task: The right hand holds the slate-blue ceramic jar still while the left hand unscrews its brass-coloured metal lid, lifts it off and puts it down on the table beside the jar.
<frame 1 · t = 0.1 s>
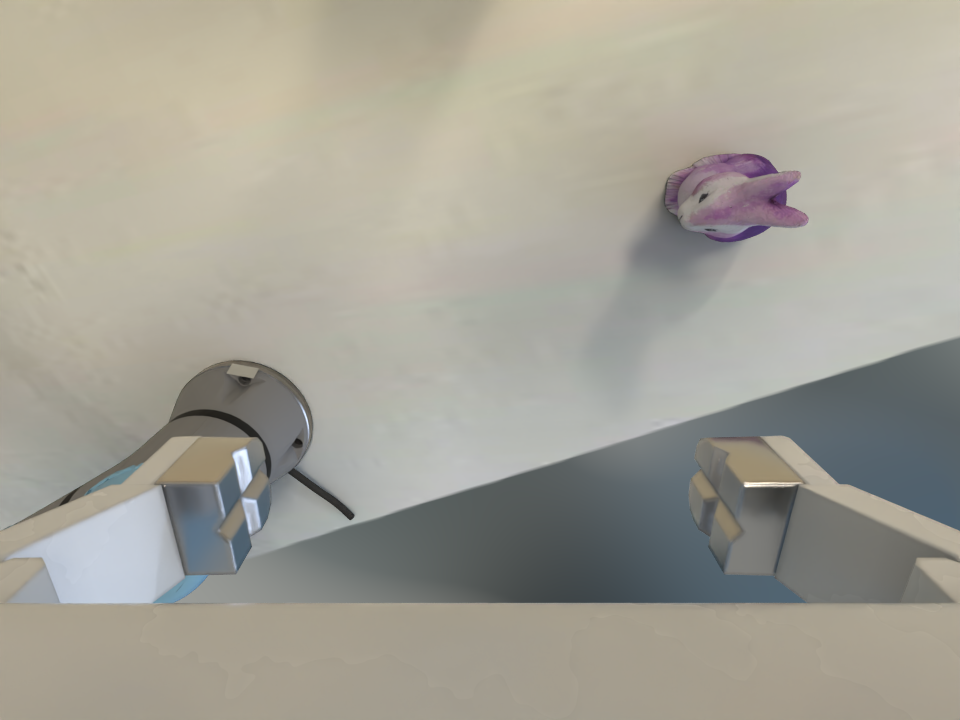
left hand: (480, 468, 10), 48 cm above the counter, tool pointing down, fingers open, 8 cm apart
figurine: (706, 198, 54), on the counter
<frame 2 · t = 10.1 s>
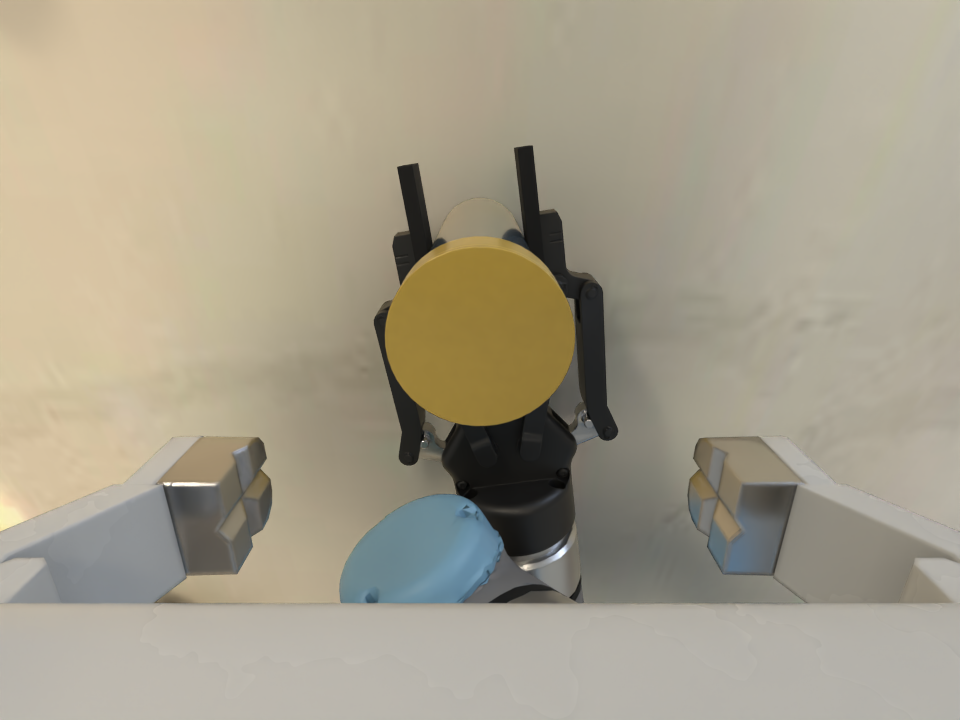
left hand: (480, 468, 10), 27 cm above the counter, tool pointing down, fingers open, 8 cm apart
right hand: (465, 156, 28), fingers closed on jar, 5 cm apart
lid: (480, 338, 17), point 20 cm above the counter, screwed on, not yet turned
jar: (480, 238, 35), on the counter, touching right hand
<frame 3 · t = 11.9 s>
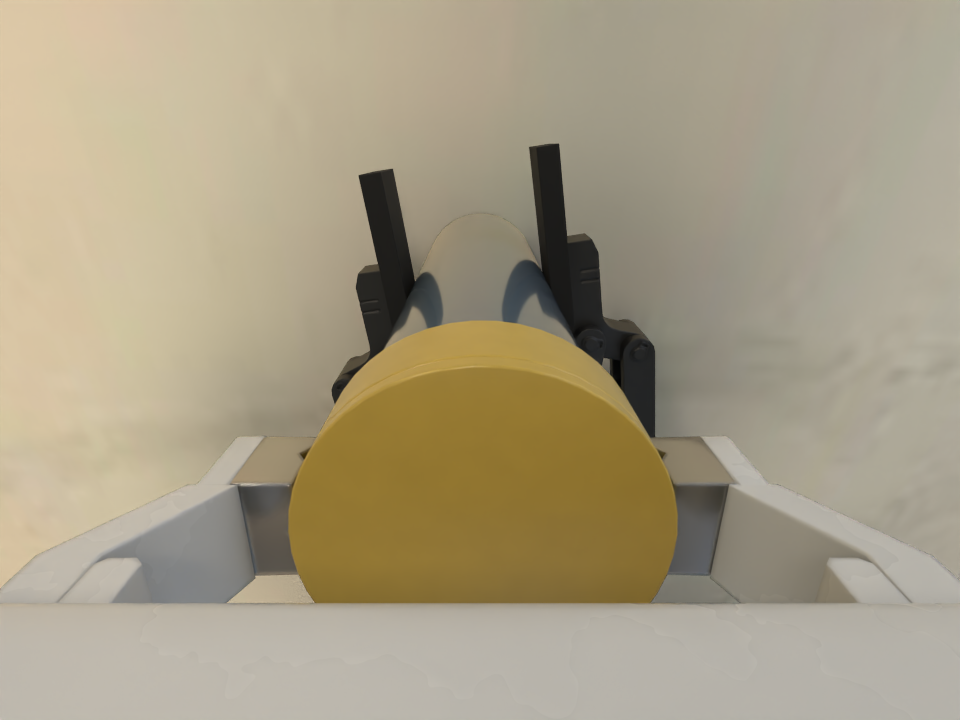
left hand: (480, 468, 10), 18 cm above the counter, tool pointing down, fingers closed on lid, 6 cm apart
lid: (482, 529, 9), point 20 cm above the counter, screwed on, not yet turned, touching left hand
jar: (480, 266, 27), on the counter, touching right hand
when the left hand's fingers open (18 cm above the counter, at t = 13.2 s): lid stays where it is, point 20 cm above the counter.
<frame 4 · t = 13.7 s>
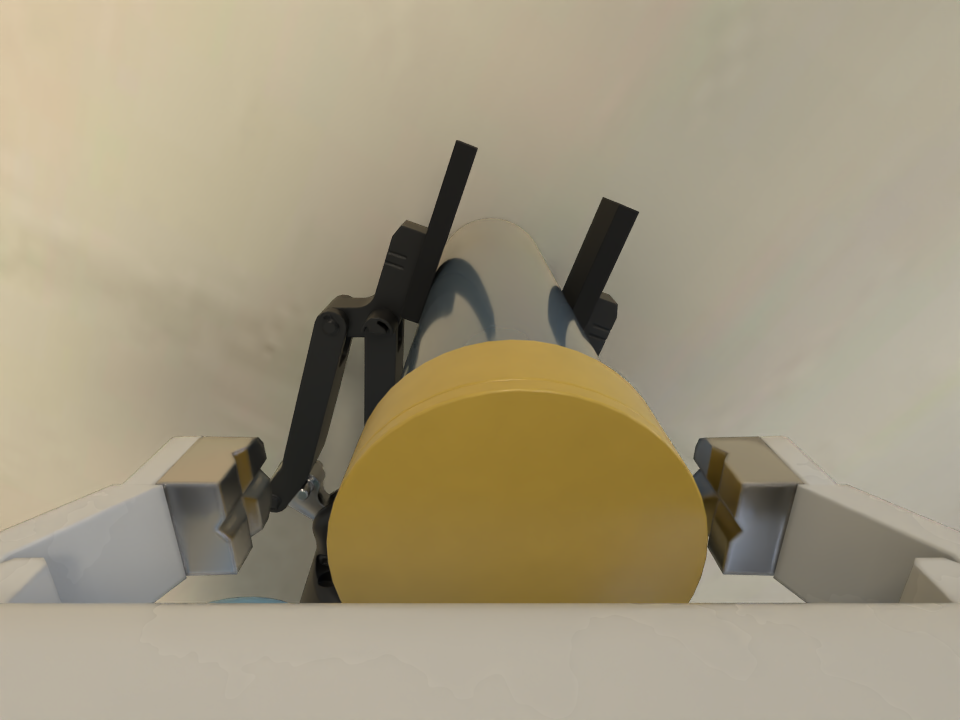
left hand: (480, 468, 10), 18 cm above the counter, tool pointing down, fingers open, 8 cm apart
lid: (515, 545, 9), point 20 cm above the counter, turned 71° so far, risen 0.2 cm, still on its thread
jar: (490, 270, 27), on the counter, touching right hand
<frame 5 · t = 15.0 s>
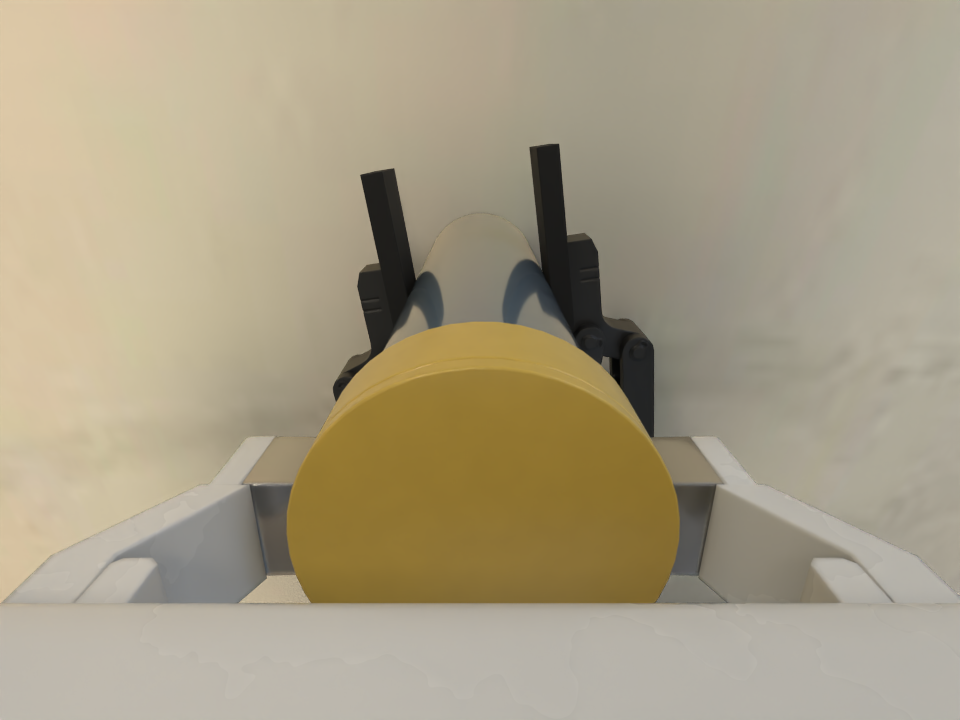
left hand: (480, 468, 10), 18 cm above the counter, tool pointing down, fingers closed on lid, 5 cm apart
lid: (483, 532, 8), point 20 cm above the counter, turned 74° so far, risen 0.2 cm, still on its thread, touching left hand
jar: (481, 266, 27), on the counter, touching right hand
when the left hand's fingers open (2 cm above the counter, at t = 22.9 s): lid drops 2 cm, point 2 cm above the counter.
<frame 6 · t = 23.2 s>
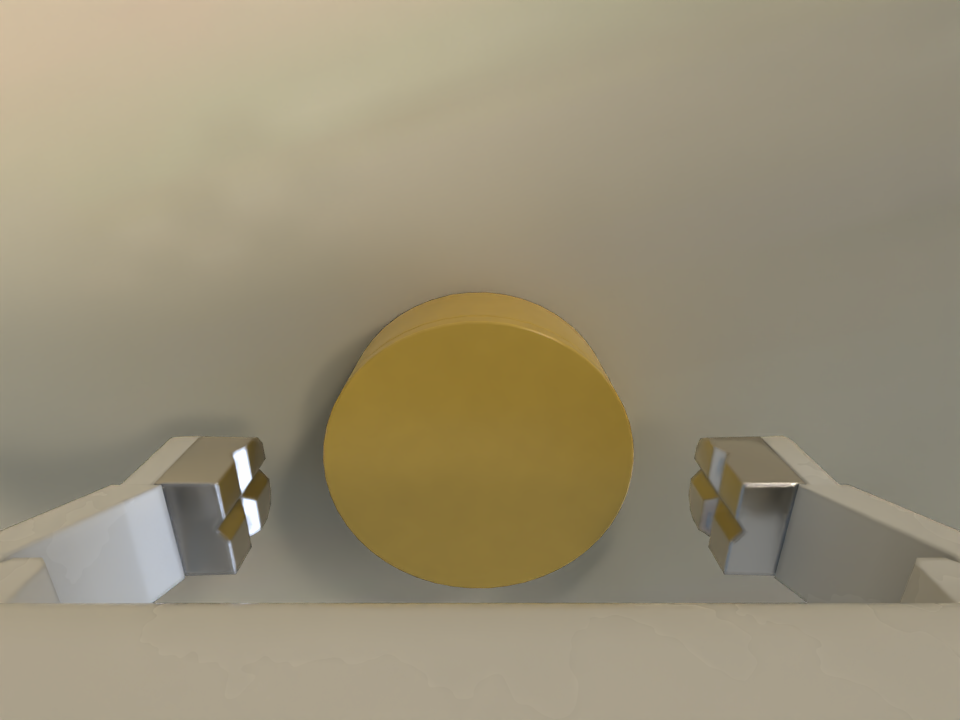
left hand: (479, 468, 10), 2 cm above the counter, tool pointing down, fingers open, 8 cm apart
lid: (478, 459, 11), point 2 cm above the counter, off its thread
when the right hand's fingers open (6 cm above the counter, at t = 23.8 s): jar stays where it is, on the counter.
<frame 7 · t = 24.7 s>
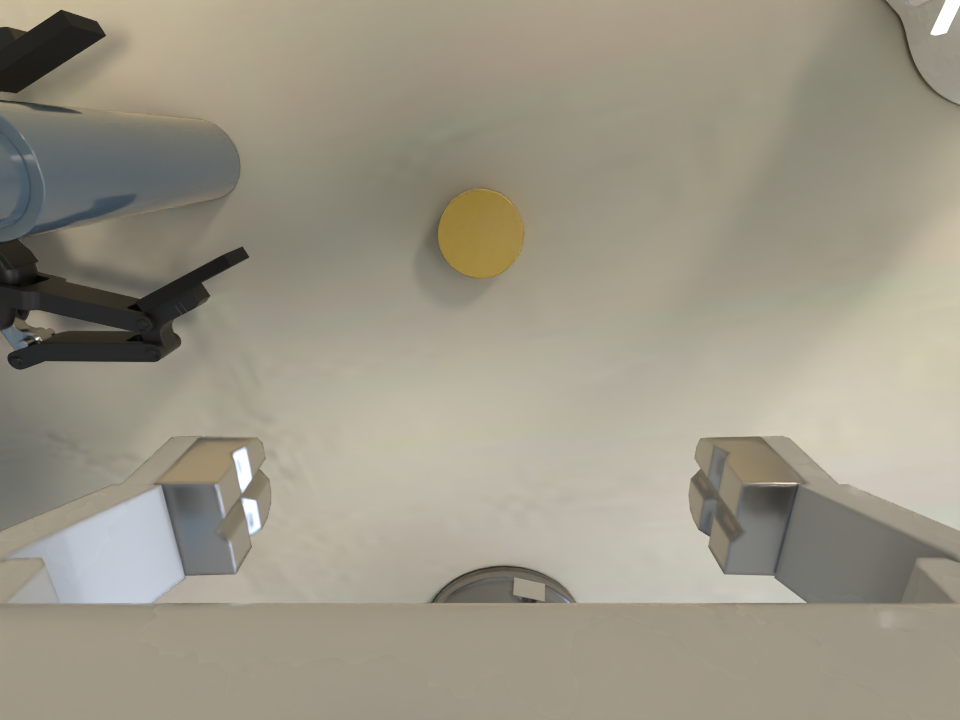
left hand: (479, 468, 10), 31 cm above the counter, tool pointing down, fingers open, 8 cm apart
right hand: (167, 147, 30), fingers open, 13 cm apart
lid: (480, 234, 37), point 2 cm above the counter, off its thread
jar: (202, 160, 37), on the counter
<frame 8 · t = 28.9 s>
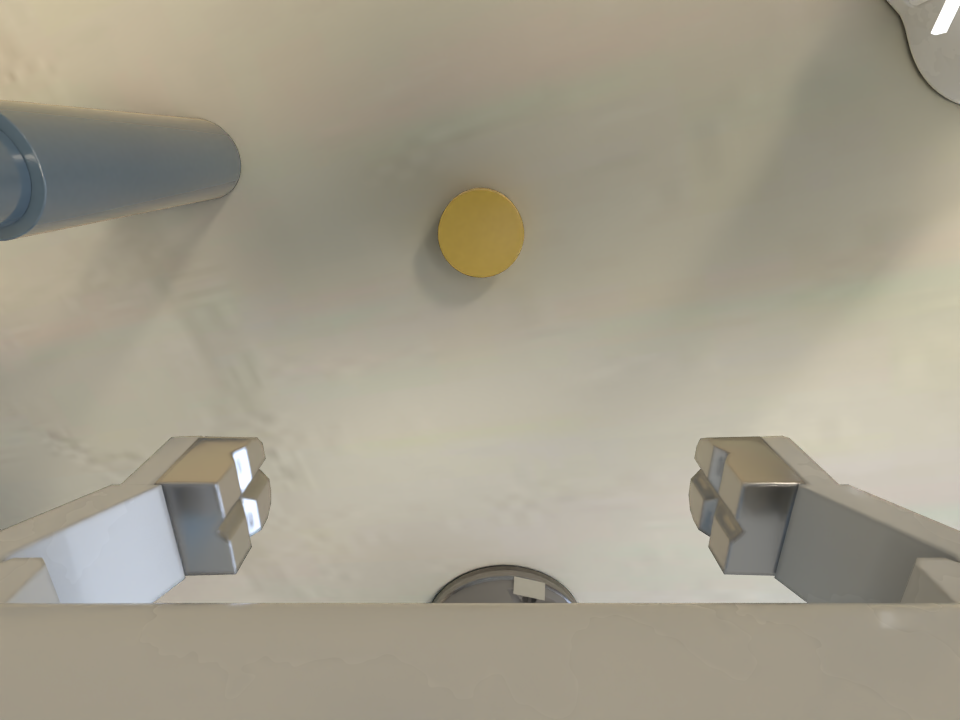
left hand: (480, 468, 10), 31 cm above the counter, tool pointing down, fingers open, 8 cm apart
lid: (480, 234, 37), point 2 cm above the counter, off its thread
jar: (202, 159, 37), on the counter
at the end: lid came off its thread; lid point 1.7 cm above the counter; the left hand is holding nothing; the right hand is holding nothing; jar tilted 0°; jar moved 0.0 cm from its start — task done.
